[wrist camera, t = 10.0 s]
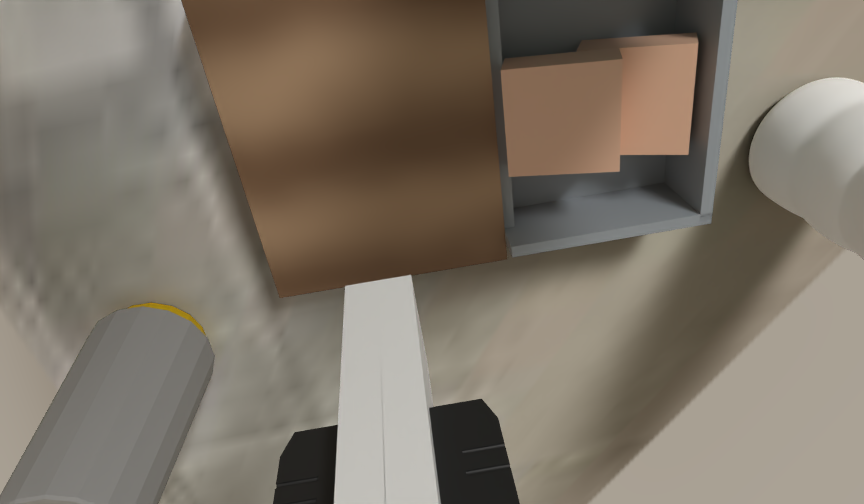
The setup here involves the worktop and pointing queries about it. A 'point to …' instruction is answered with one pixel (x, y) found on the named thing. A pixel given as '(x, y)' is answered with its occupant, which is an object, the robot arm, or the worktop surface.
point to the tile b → (655, 91)
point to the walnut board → (358, 133)
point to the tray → (639, 174)
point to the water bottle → (816, 158)
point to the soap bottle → (118, 412)
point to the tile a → (563, 112)
